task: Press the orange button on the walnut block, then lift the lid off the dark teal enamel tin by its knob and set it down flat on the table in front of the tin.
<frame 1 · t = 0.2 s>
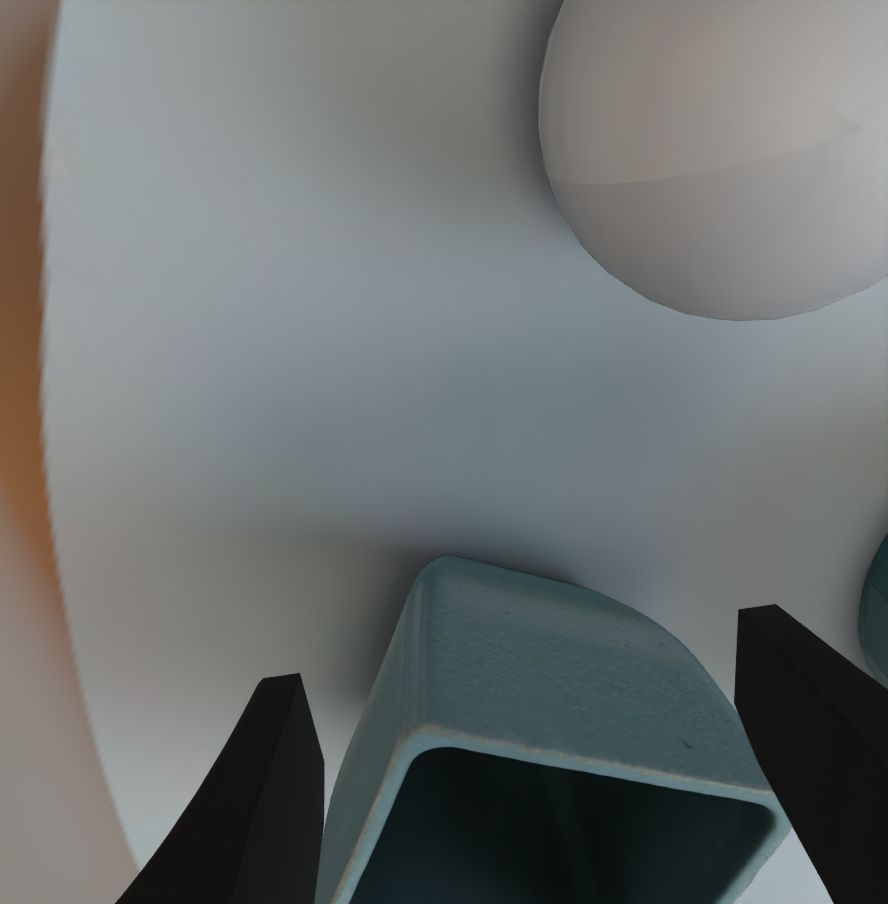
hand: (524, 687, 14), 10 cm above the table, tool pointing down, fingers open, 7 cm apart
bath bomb: (682, 85, 19), on the table
flower pot: (489, 630, 26), on the table
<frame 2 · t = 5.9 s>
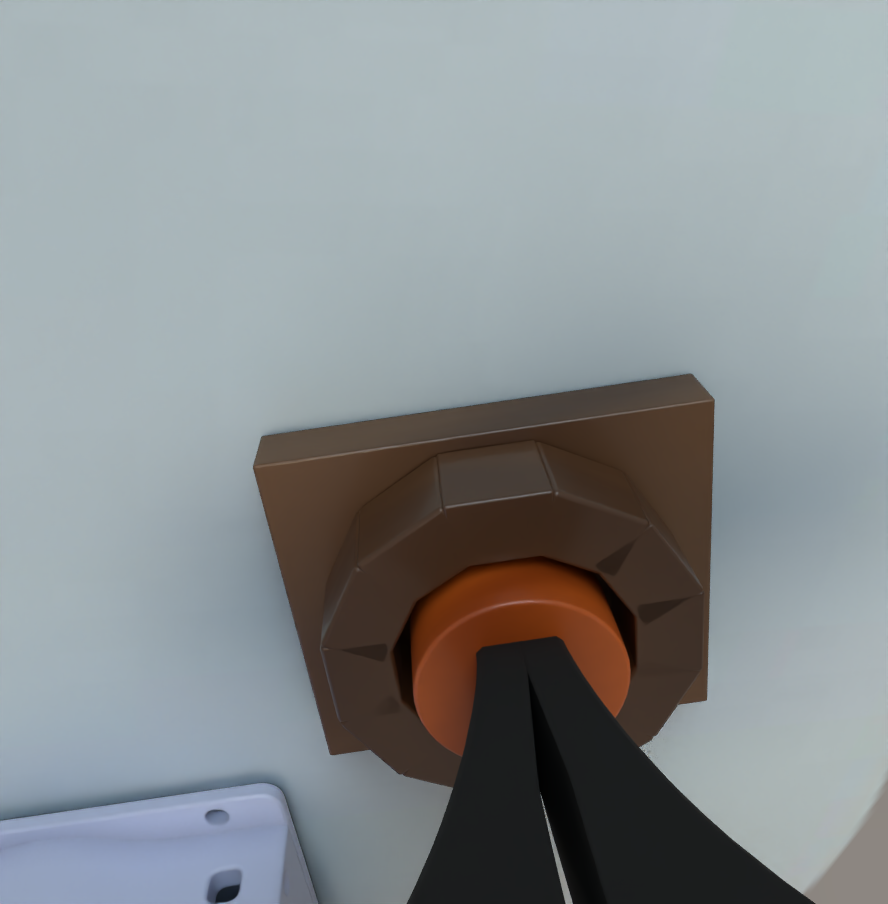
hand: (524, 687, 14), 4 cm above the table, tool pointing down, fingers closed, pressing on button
button block: (495, 559, 17), on the table
button: (515, 653, 14), point 3 cm above the table, slide at -0.5 cm, touching gripper
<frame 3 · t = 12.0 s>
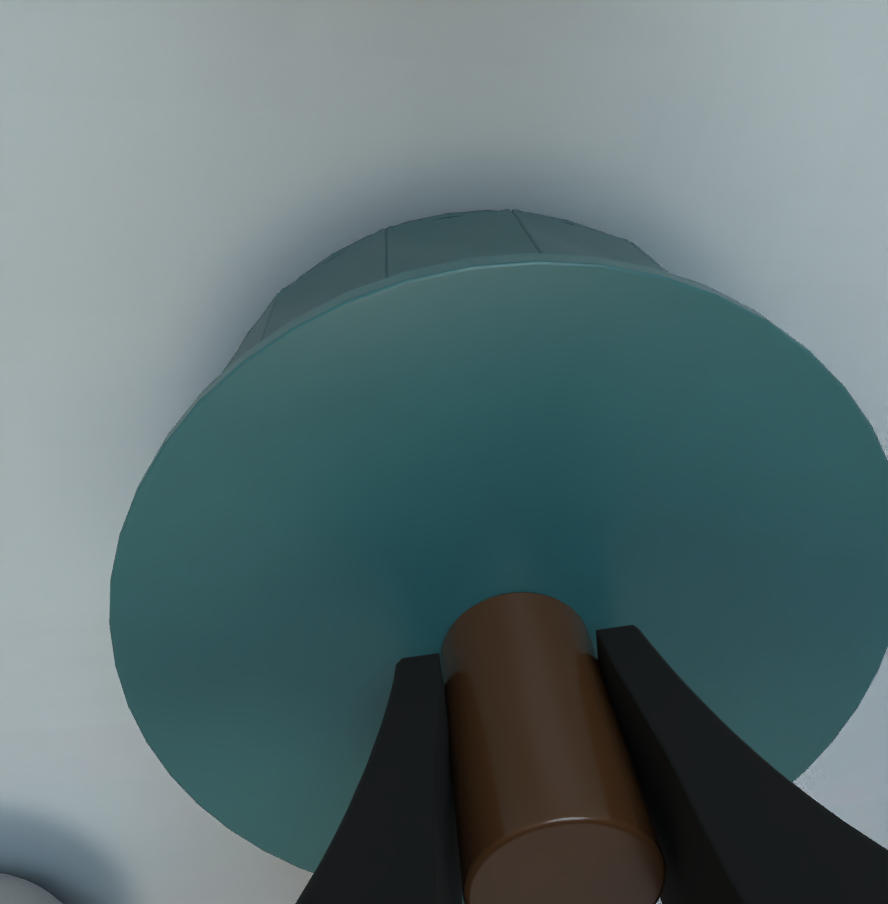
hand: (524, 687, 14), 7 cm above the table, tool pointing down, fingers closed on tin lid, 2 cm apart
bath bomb: (2, 893, 25), on the table
tin: (480, 482, 20), on the table
tin lid: (511, 631, 15), point 5 cm above the table, touching gripper, tin
when the fingers open (2 cm above the table, at t = 16.5 s): tin lid stays where it is, point 1 cm above the table.
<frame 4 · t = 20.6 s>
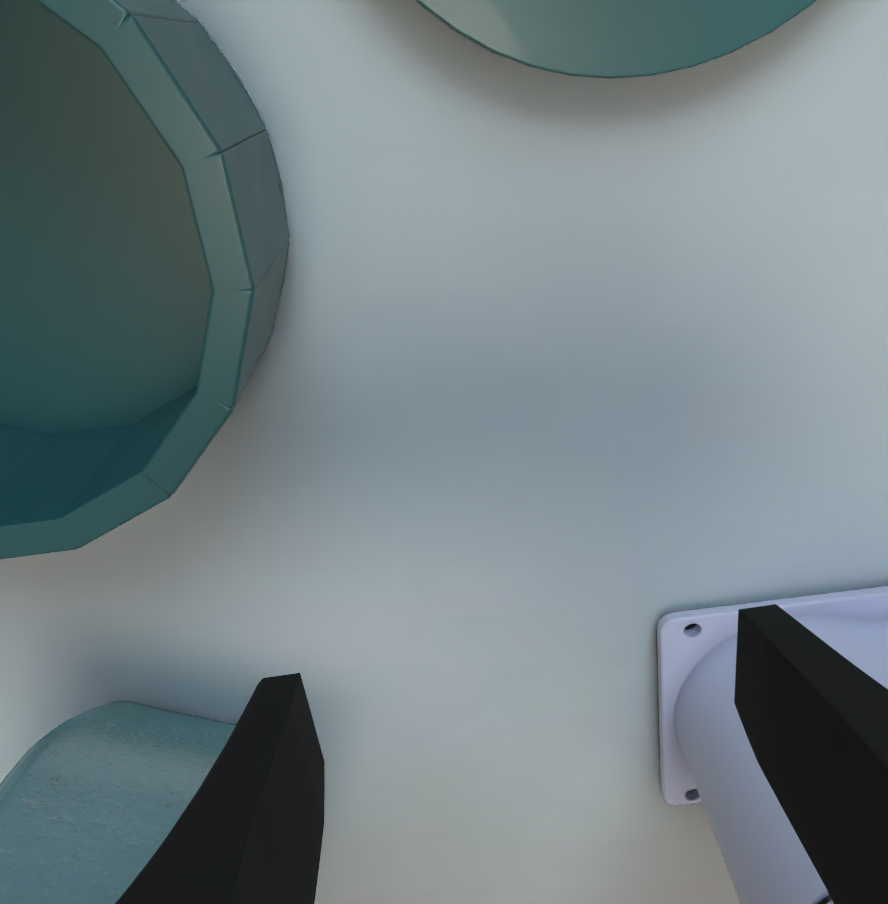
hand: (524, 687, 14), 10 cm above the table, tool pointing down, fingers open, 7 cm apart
flower pot: (182, 761, 28), on the table
tin: (25, 218, 20), on the table
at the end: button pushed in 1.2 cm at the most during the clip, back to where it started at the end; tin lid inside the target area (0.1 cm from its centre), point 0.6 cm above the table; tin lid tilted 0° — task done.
